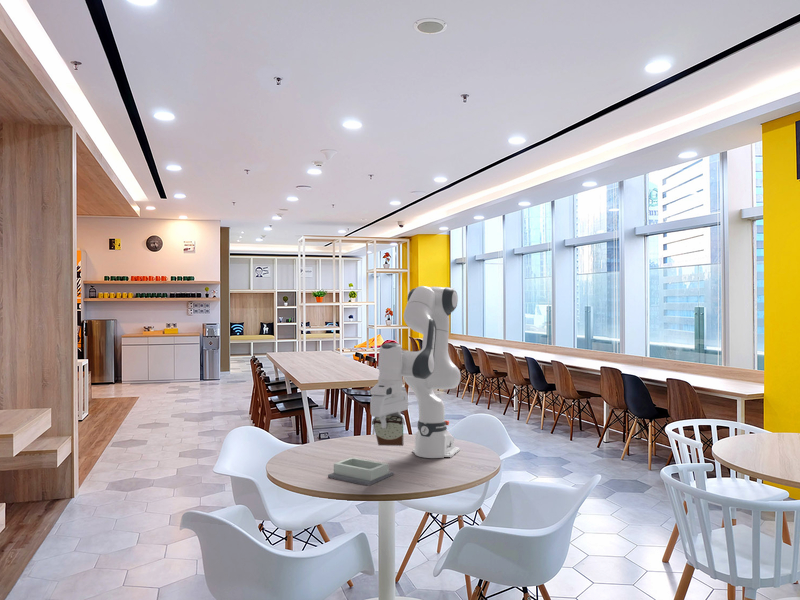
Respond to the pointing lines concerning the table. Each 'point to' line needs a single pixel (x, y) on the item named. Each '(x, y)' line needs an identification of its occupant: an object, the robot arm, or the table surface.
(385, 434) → the food container
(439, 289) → the robot arm
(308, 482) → the table surface
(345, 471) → the tray
